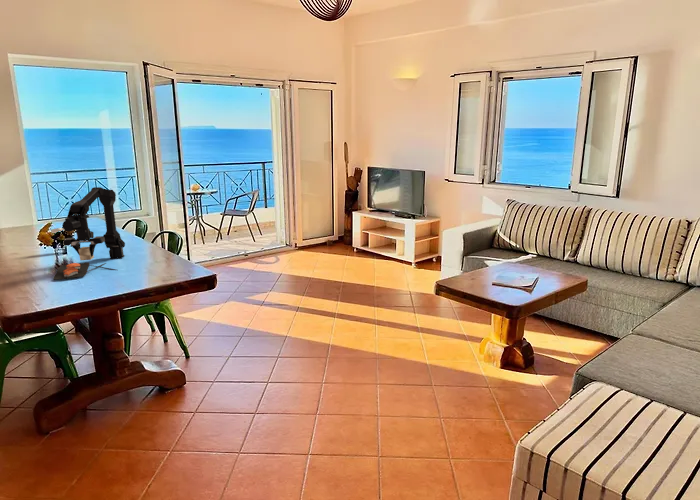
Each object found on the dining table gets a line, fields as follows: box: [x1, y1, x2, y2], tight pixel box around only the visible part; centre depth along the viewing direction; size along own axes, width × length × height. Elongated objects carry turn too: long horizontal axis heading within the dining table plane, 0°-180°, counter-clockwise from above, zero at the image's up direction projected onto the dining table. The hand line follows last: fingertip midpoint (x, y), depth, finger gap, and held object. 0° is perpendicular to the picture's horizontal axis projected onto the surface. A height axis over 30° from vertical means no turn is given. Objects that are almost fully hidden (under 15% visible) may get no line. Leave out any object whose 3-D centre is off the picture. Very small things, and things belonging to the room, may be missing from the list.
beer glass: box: [50, 227, 65, 234], centre depth 291 cm, size 7×7×15 cm
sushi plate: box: [52, 262, 117, 281], centre depth 254 cm, size 29×30×4 cm
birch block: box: [78, 246, 95, 261], centre depth 252 cm, size 5×5×6 cm
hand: (86, 256), depth 253 cm, fingers closed on birch block, 5 cm apart
